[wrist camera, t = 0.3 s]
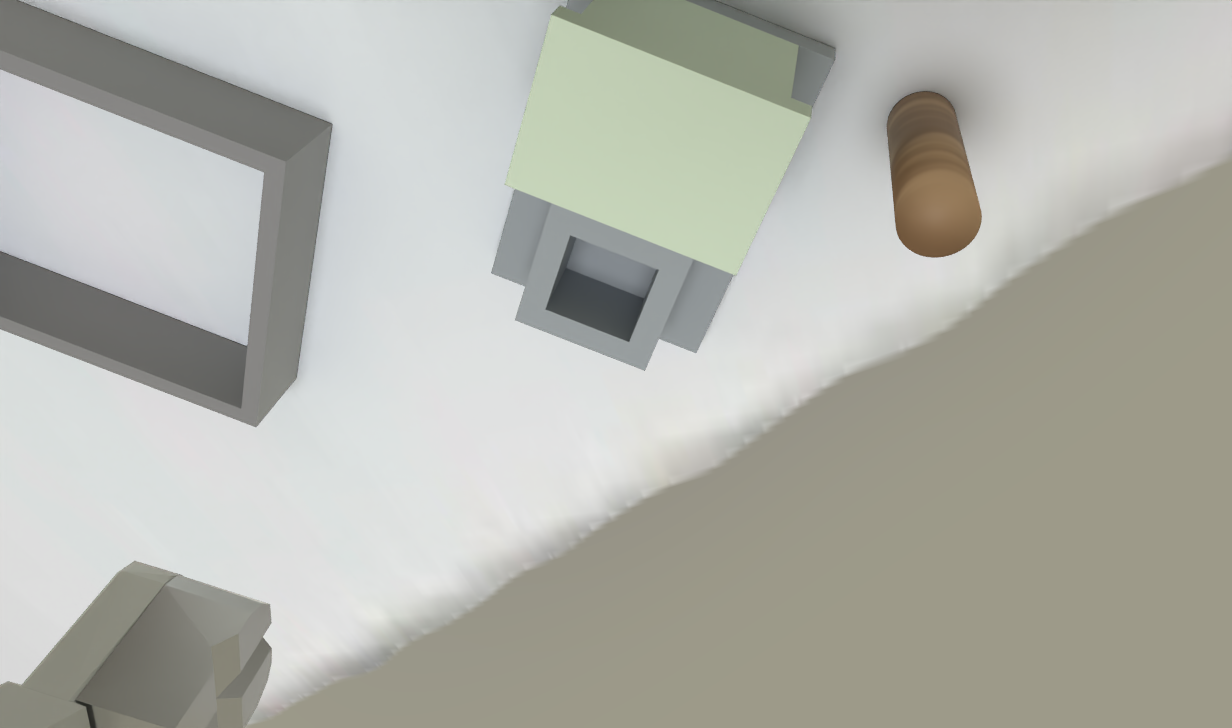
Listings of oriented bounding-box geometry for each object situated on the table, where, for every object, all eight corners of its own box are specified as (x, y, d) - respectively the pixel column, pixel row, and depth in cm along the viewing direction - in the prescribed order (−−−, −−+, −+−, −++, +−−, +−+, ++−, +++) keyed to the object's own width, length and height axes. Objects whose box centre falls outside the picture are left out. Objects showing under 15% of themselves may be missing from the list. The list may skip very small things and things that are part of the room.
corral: (-58, -29, 58) (-140, -5, 53) (332, 124, 58) (285, 161, 54) (-24, 255, 71) (-88, 295, 66) (296, 378, 71) (256, 427, 66)
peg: (906, 81, 50) (920, 170, 41) (969, 106, 50) (997, 201, 41) (875, 141, 52) (881, 239, 43) (935, 165, 52) (954, 268, 43)
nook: (588, -51, 50) (529, 6, 40) (835, 48, 50) (832, 126, 41) (500, 258, 62) (439, 356, 52) (700, 336, 62) (674, 447, 53)
